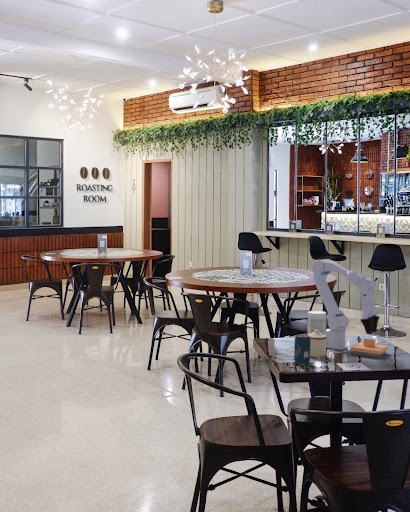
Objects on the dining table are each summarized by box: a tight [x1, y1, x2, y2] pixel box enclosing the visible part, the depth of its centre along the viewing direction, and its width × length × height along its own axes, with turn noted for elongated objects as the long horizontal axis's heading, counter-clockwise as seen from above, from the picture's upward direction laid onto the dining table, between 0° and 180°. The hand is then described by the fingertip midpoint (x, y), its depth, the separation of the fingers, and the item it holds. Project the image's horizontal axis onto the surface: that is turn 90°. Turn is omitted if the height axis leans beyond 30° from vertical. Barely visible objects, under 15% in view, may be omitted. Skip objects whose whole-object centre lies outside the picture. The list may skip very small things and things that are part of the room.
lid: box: [350, 337, 389, 354], centre depth 298 cm, size 14×14×5 cm
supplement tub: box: [306, 310, 327, 335], centre depth 327 cm, size 10×10×15 cm
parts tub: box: [352, 350, 387, 359], centre depth 299 cm, size 12×12×3 cm
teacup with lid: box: [308, 330, 327, 358], centre depth 295 cm, size 12×9×12 cm
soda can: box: [293, 334, 311, 365], centre depth 280 cm, size 7×7×12 cm
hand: (371, 332), depth 298 cm, fingers open, 7 cm apart
